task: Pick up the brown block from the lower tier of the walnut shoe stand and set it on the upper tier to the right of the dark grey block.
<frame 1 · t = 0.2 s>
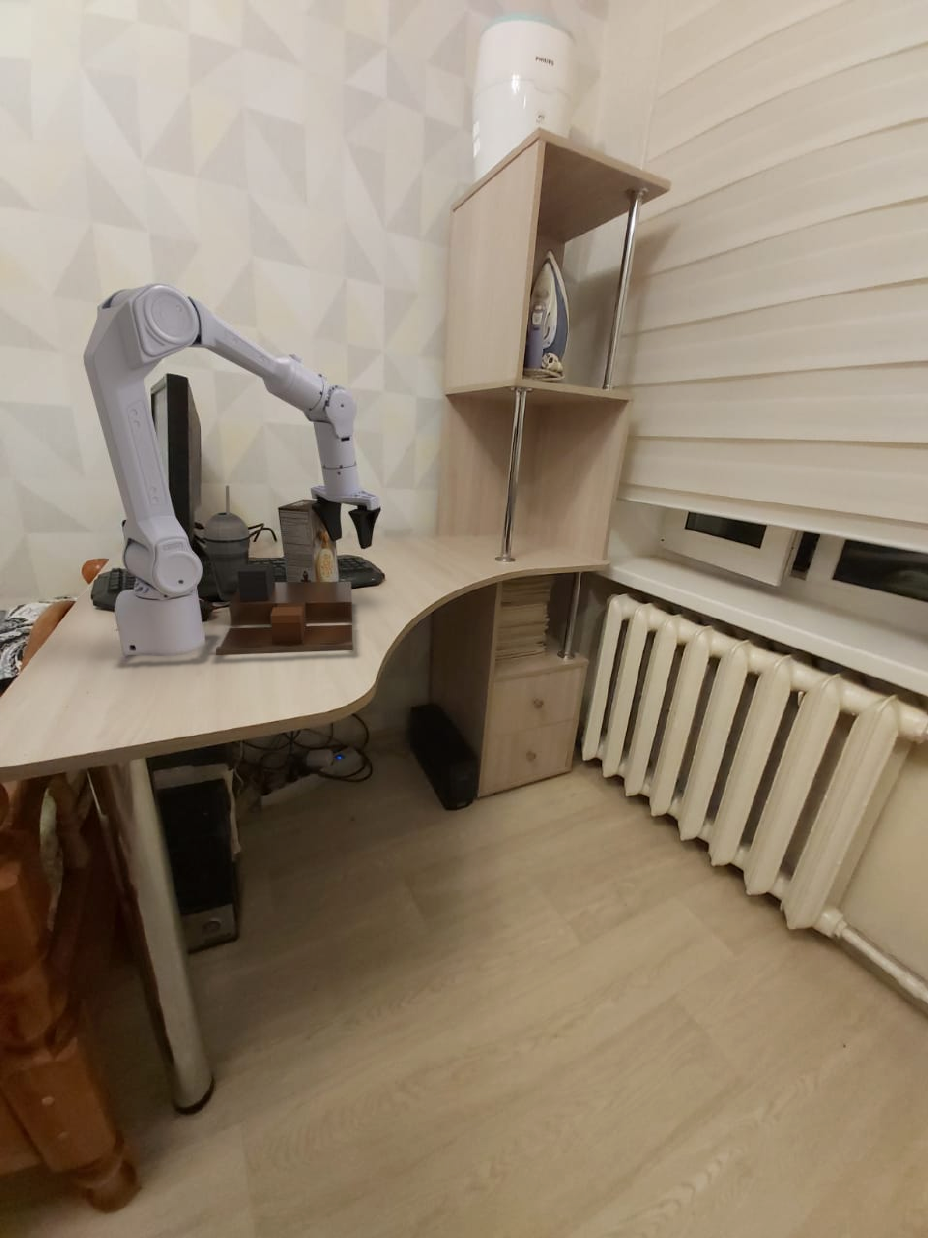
hand: (351, 543, 88), 11 cm above the table, tool pointing down, fingers open, 7 cm apart
brown block: (290, 634, 74), point 1 cm above the table, touching shoe stand
shoe stand: (293, 632, 77), on the table
dark grey block: (258, 592, 80), point 4 cm above the table, touching shoe stand
beverage cup: (235, 602, 87), on the table
coffee box: (314, 587, 97), on the table
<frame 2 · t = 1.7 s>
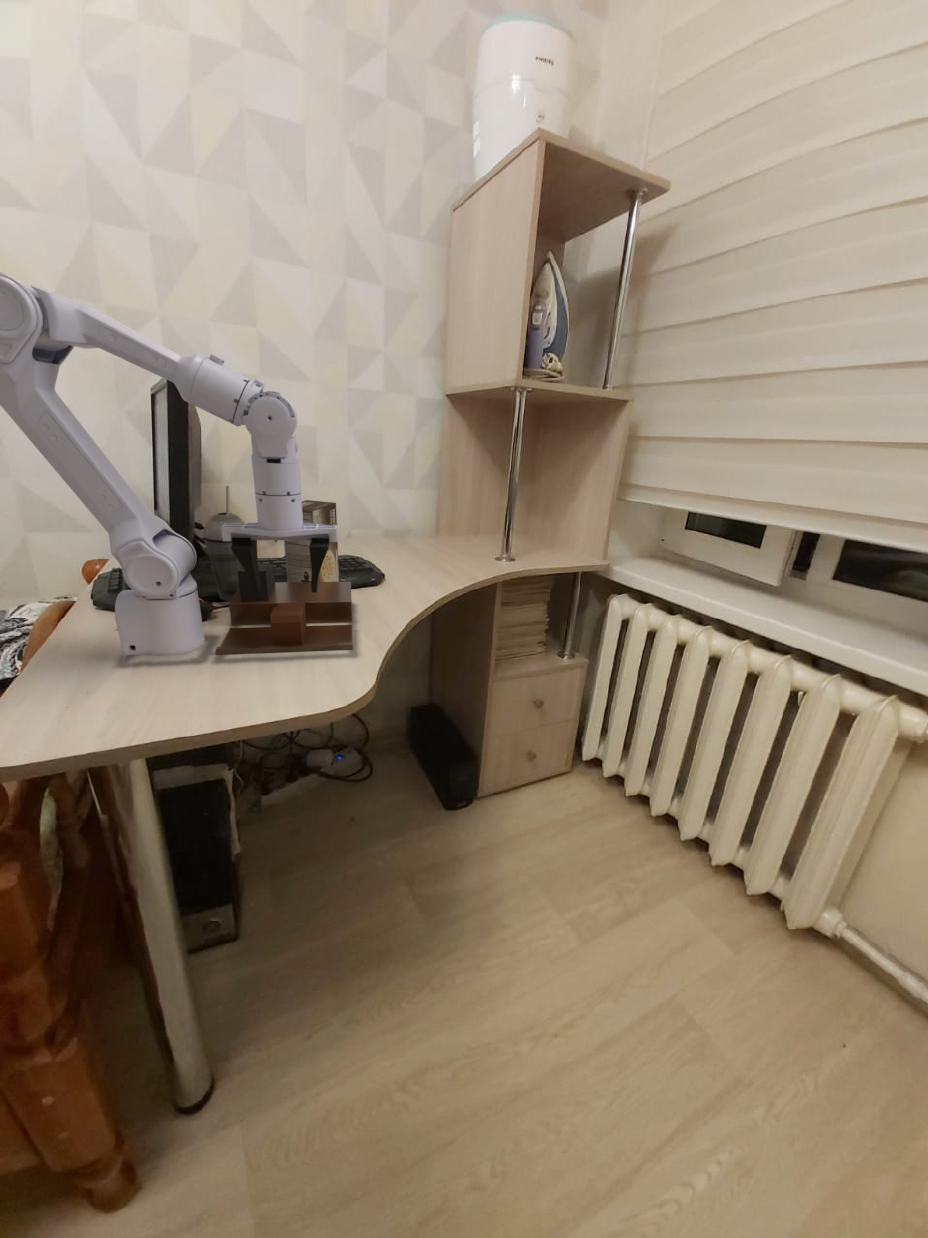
hand: (286, 590, 70), 8 cm above the table, tool pointing down, fingers open, 7 cm apart
nothing on the table moved.
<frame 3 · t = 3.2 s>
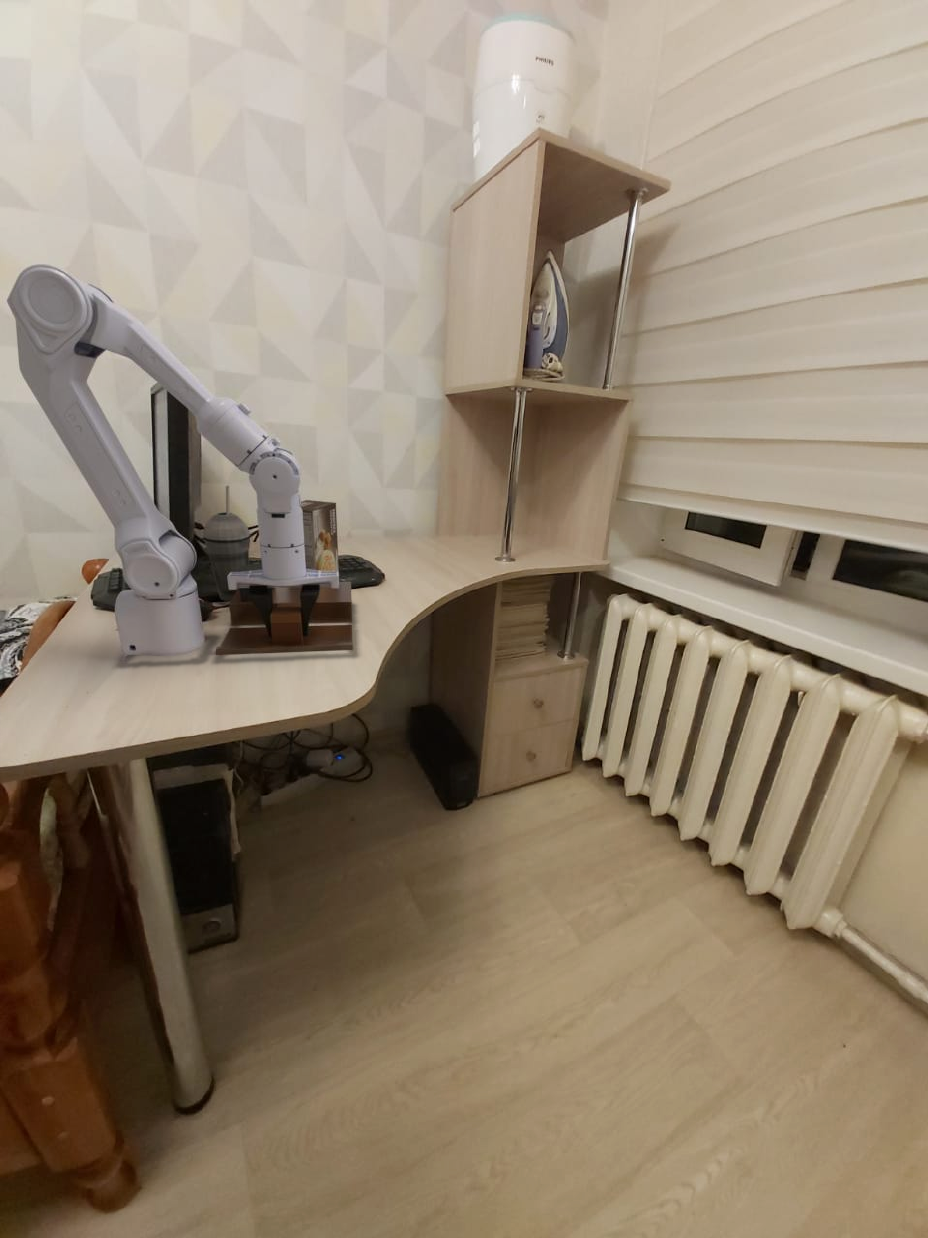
hand: (289, 634, 73), 2 cm above the table, tool pointing down, fingers closed on brown block, 4 cm apart
brown block: (290, 634, 74), point 1 cm above the table, touching gripper, shoe stand
everything else where it was.
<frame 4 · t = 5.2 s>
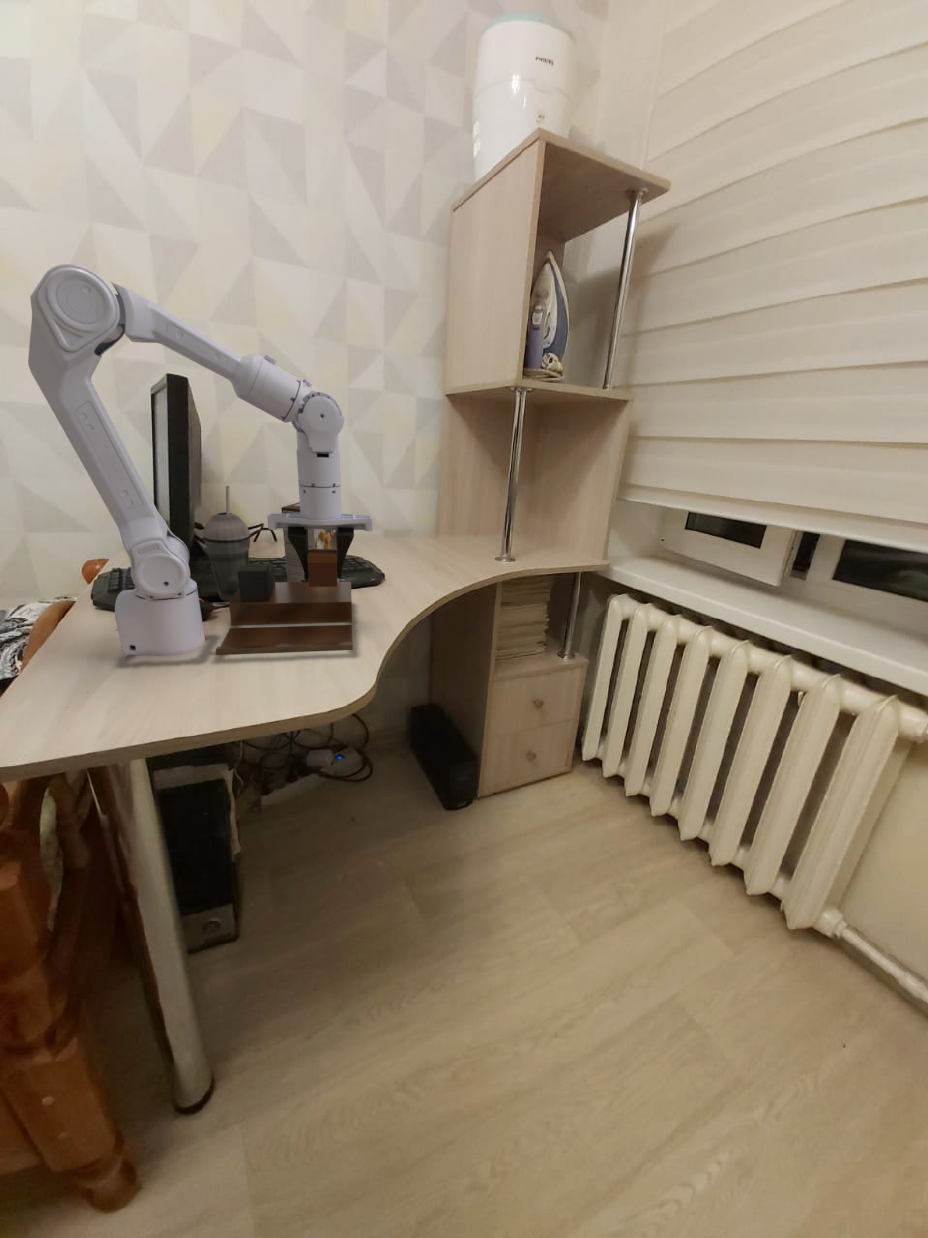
hand: (324, 576, 75), 9 cm above the table, tool pointing down, fingers closed on brown block, 4 cm apart
brown block: (324, 578, 77), point 8 cm above the table, touching gripper
everything else where it was.
when the fingers open (5 cm above the table, at t = 7.1 s): brown block stays where it is, resting on shoe stand.
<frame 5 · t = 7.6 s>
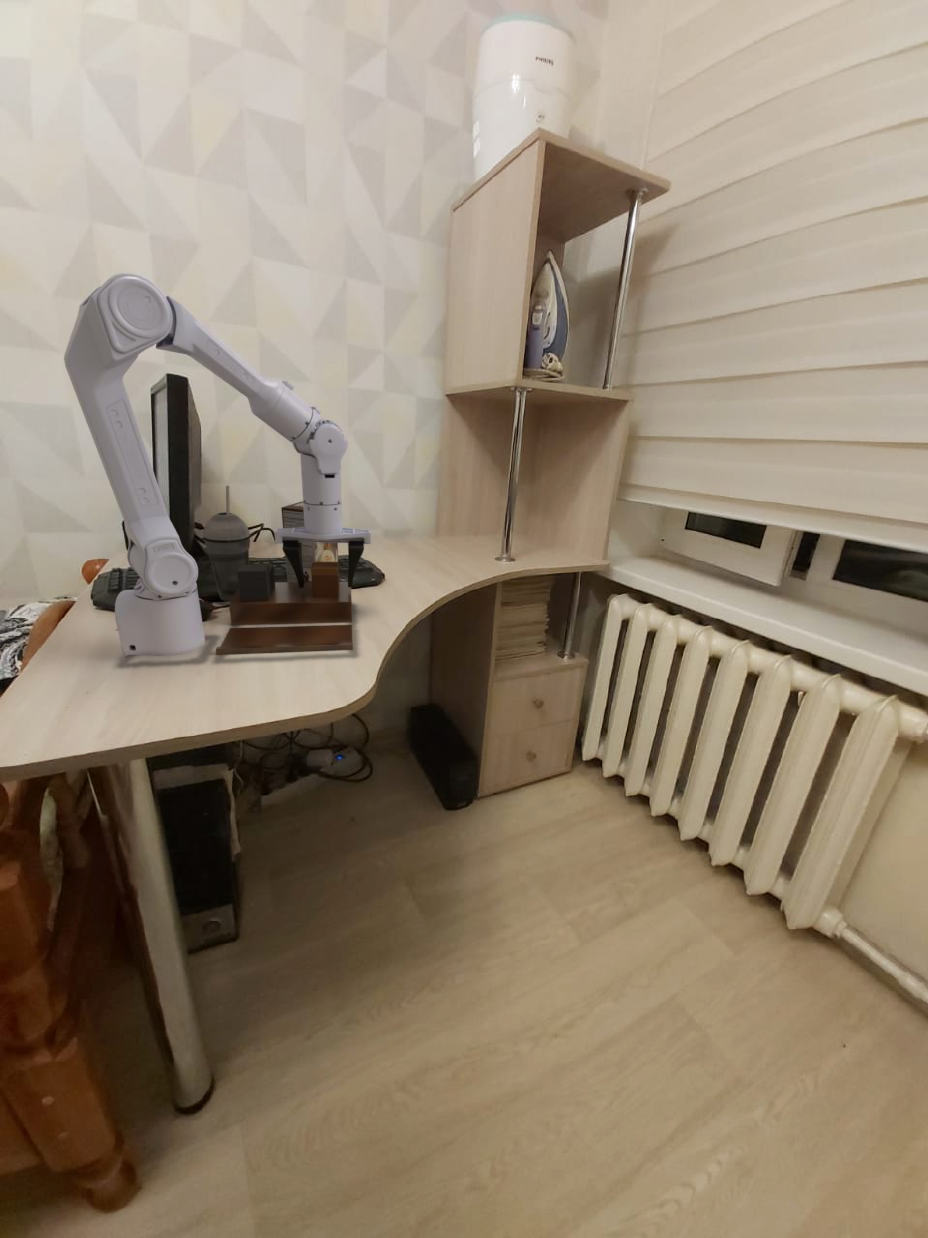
hand: (326, 585, 82), 5 cm above the table, tool pointing down, fingers open, 7 cm apart
brown block: (326, 589, 83), point 4 cm above the table, touching shoe stand
everything else where it was.
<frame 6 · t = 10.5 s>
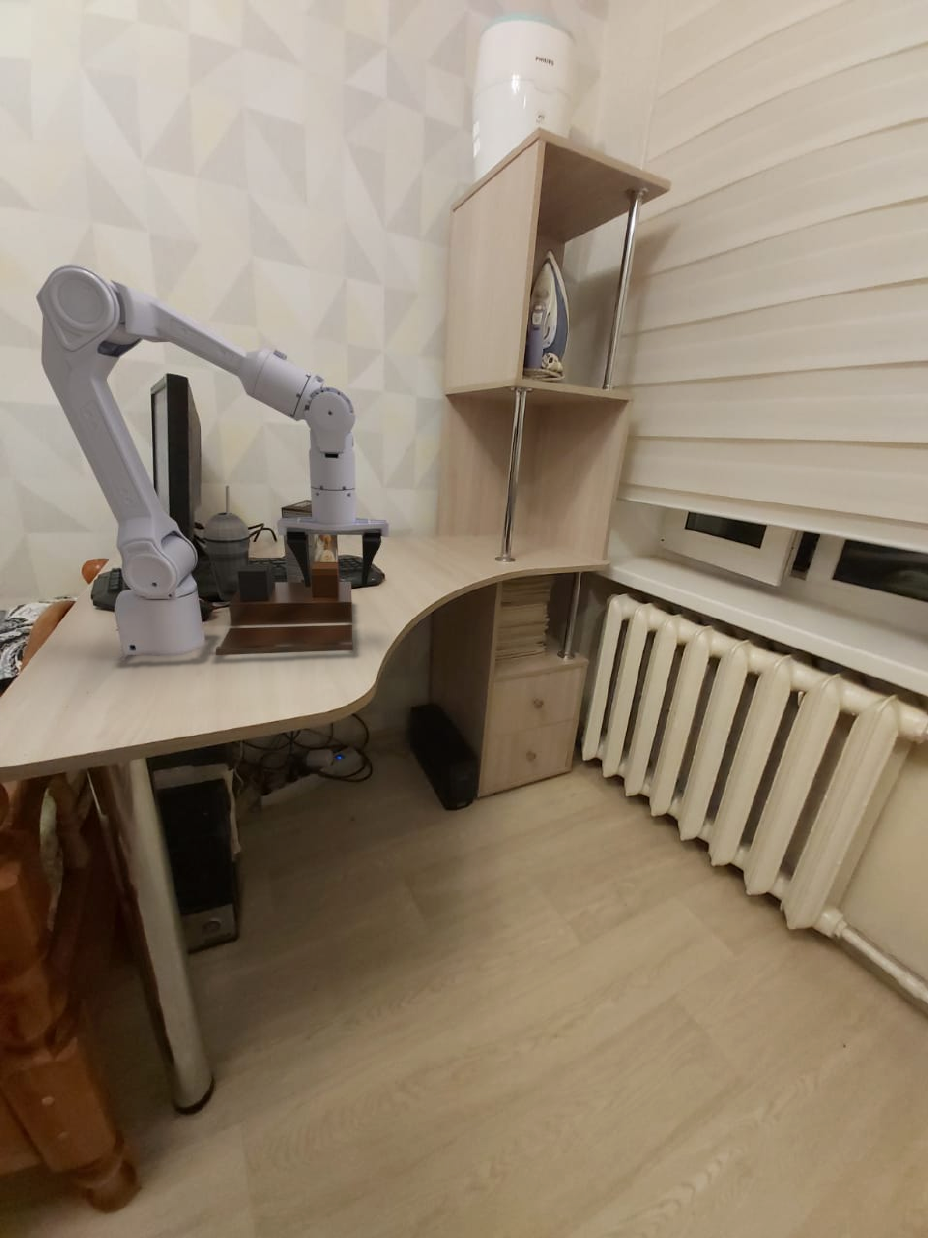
hand: (336, 584, 71), 9 cm above the table, tool pointing down, fingers open, 7 cm apart
nothing on the table moved.
at the end: brown block 1.2 cm from the target spot, point 4.5 cm above the table; brown block tilted 0°; dark grey block moved 0.0 cm from its start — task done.
